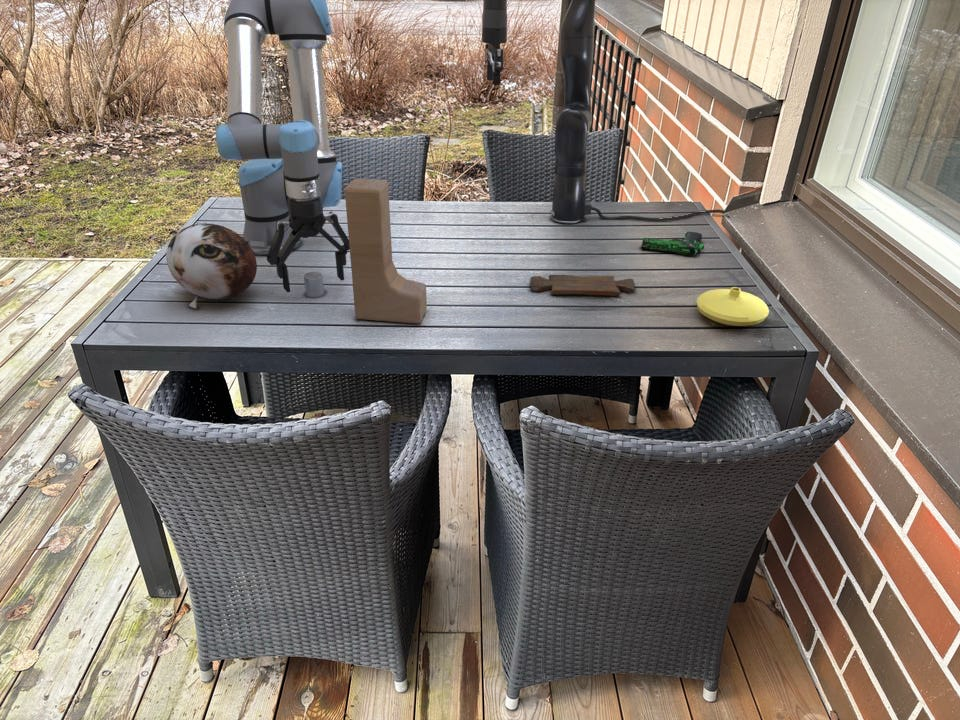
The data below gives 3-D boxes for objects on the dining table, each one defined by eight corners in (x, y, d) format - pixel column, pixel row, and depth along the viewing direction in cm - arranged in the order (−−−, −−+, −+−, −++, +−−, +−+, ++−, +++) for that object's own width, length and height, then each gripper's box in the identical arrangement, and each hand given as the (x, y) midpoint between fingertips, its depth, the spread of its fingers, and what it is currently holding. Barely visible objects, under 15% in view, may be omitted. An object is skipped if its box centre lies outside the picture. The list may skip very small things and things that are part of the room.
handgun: (708, 232, 202) (701, 248, 190) (707, 242, 204) (700, 259, 192) (651, 225, 208) (641, 240, 196) (650, 234, 209) (639, 251, 197)
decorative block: (420, 325, 158) (416, 192, 142) (354, 319, 159) (343, 187, 144) (427, 309, 164) (423, 181, 149) (363, 305, 166) (354, 177, 150)
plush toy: (130, 285, 161) (164, 203, 163) (192, 308, 177) (221, 233, 178) (195, 307, 151) (229, 220, 152) (254, 330, 166) (285, 250, 168)
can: (325, 289, 173) (323, 271, 171) (323, 297, 170) (321, 278, 167) (306, 289, 173) (304, 271, 170) (304, 297, 169) (302, 279, 167)
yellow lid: (708, 296, 172) (714, 269, 169) (775, 314, 165) (782, 286, 161) (683, 320, 161) (688, 292, 158) (753, 340, 154) (760, 311, 150)
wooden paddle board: (638, 298, 171) (631, 281, 180) (639, 292, 170) (632, 275, 179) (530, 294, 172) (529, 277, 180) (531, 288, 171) (529, 271, 179)
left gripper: (253, 210, 151) (267, 301, 162) (362, 192, 162) (368, 279, 173) (243, 200, 156) (258, 288, 167) (350, 183, 167) (356, 268, 178)
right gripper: (477, 22, 219) (476, 78, 227) (487, 28, 207) (486, 87, 216) (501, 22, 221) (499, 78, 229) (512, 27, 209) (510, 86, 217)
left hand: (314, 284), depth 170 cm, fingers open, 13 cm apart
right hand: (493, 82), depth 222 cm, fingers open, 8 cm apart
